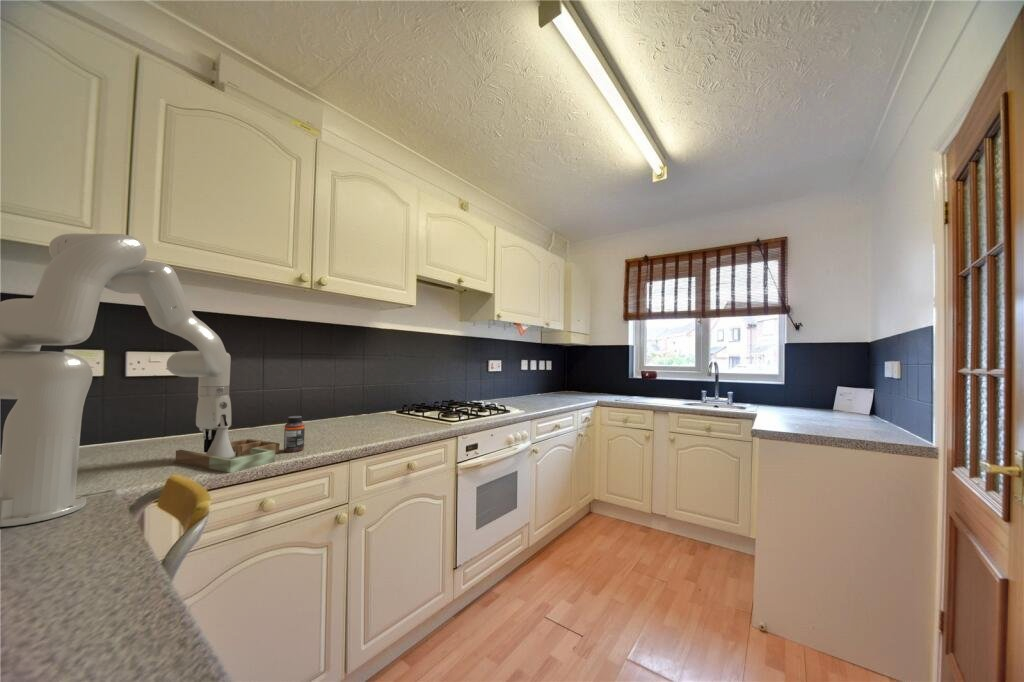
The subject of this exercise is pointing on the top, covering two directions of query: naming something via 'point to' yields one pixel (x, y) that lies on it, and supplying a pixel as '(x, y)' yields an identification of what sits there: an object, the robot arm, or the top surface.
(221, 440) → the flask
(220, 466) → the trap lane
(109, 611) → the top surface
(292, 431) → the supplement bottle
